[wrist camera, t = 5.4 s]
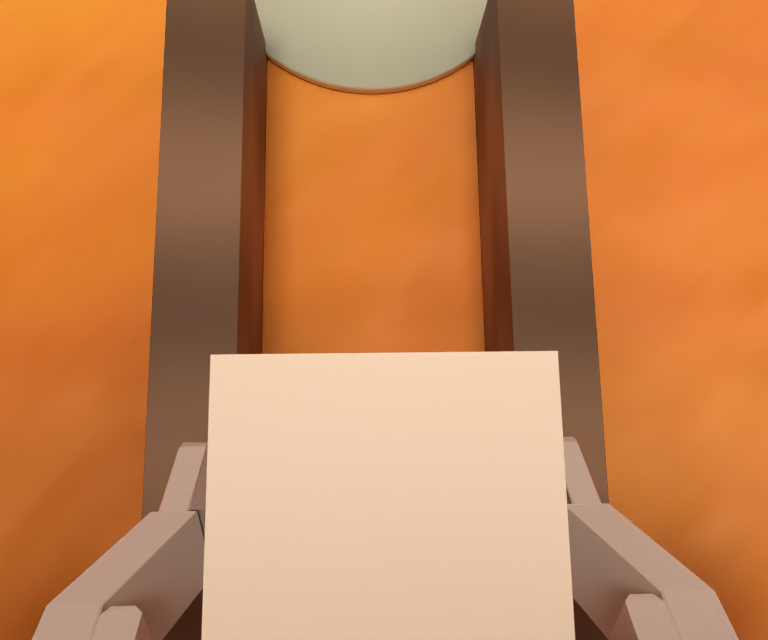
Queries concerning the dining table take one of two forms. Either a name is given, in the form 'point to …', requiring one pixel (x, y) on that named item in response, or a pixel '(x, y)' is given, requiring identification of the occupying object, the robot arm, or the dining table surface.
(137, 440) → the dining table surface
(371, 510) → the block
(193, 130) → the track
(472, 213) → the dining table surface
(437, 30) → the mat
